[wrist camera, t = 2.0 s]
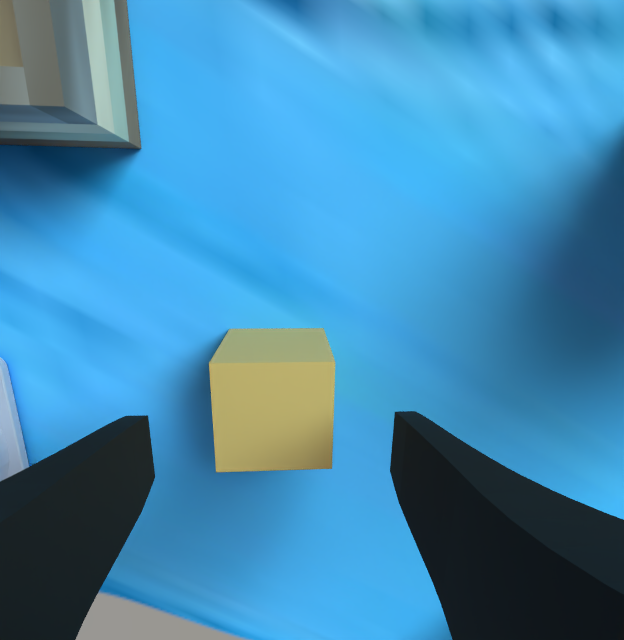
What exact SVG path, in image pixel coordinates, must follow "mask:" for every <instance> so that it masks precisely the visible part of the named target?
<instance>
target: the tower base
mask: <svg viewBox="0 0 624 640" xmlns="http://www.w3.org/2000/svg"><path fill="white" fill-rule="evenodd" d="M0 145H32V146H66V147H99V148H133V149H141V141H140V131H139V121H138V111H137V101H136V91H135V81H134V70H133V60H132V50H131V40H130V30H129V20H128V10H127V0H0Z"/></svg>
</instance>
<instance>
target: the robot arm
mask: <svg viewBox="0 0 624 640" xmlns="http://www.w3.org/2000/svg"><path fill="white" fill-rule="evenodd" d="M390 472H391V476H392V480H393V483H394V487H395V491H396V494H397V497H398V501H399V504H400V506H401V509H402V511H403V514H404V516H405V518H406V521H407V523H408V526H409V528H410V530H411V533H412V535H413V537H414V540H415V542H416V544H417V547H418V549H419V551H420V554H421V556H422V558H423V561H424V563H425V565H426V568H427V570H428V572H429V575H430V577H431V579H432V582H433V584H434V587H435V589H436V592H437V595H438V597H439V600H440V603H441V605H442V608H443V611H444V615H445V618H446V621H447V624H448V627H449V630H450V633H451V636H452V639H453V640H624V520H623V519H620V518H617V517H615V516H612V515H609V514H607V513H604V512H602V511H599V510H597V509H594V508H592V507H590V506H587V505H585V504H582V503H580V502H578V501H575V500H573V499H570V498H568V497H566V496H564V495H561V494H559V493H557V492H555V491H552V490H550V489H548V488H546V487H544V486H542V485H540V484H538V483H536V482H534V481H532V480H530V479H528V478H526V477H524V476H522V475H520V474H518V473H516V472H514V471H512V470H510V469H508V468H507V467H505V466H503V465H501V464H500V463H498V462H496V461H494V460H493V459H491V458H489V457H487V456H486V455H484V454H482V453H481V452H479V451H477V450H476V449H474V448H472V447H471V446H469V445H468V444H466V443H465V442H463V441H461V440H460V439H458V438H457V437H455V436H454V435H452V434H451V433H449V432H447V431H446V430H444V429H443V428H441V427H440V426H438V425H437V424H435V423H434V422H432V421H431V420H429V419H428V418H426V417H424V416H423V415H421V414H419V413H417V412H415V411H408V412H395V418H394V430H393V442H392V454H391V466H390ZM154 478H155V473H154V464H153V455H152V447H151V438H150V429H149V421H148V416H125V417H122V418H120V419H118V420H116V421H114V422H112V423H110V424H108V425H106V426H104V427H102V428H100V429H99V430H97V431H95V432H93V433H91V434H89V435H88V436H86V437H84V438H82V439H80V440H79V441H77V442H75V443H73V444H71V445H70V446H68V447H66V448H64V449H62V450H60V451H59V452H57V453H55V454H53V455H51V456H49V457H47V458H45V459H43V460H41V461H39V462H38V463H36V464H34V465H32V466H30V467H29V463H28V458H27V454H26V449H25V444H24V440H23V435H22V431H21V426H20V421H19V417H18V412H17V408H16V403H15V399H14V394H13V389H12V385H11V380H10V376H9V371H8V367H7V364H6V362H5V361H4V360H3V359H2V358H0V640H75V639H76V637H77V635H78V632H79V630H80V628H81V626H82V623H83V621H84V619H85V617H86V615H87V613H88V611H89V609H90V607H91V605H92V603H93V601H94V599H95V597H96V595H97V593H98V592H99V590H100V588H101V586H102V584H103V582H104V581H105V579H106V577H107V575H108V573H109V571H110V570H111V568H112V566H113V564H114V562H115V560H116V559H117V557H118V555H119V553H120V551H121V549H122V547H123V546H124V544H125V542H126V540H127V538H128V536H129V535H130V533H131V531H132V529H133V527H134V525H135V523H136V521H137V519H138V518H139V516H140V514H141V512H142V509H143V507H144V504H145V502H146V499H147V497H148V494H149V492H150V489H151V486H152V484H153V481H154Z"/></svg>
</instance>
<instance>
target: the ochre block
mask: <svg viewBox="0 0 624 640" xmlns="http://www.w3.org/2000/svg"><path fill="white" fill-rule="evenodd" d="M209 372H210V387H211V402H212V417H213V432H214V447H215V462H216V472H240V471H272V470H304V469H332V448H333V416H334V385H335V360H334V357H333V354H332V351H331V348H330V345H329V343H328V340H327V337H326V334H325V331H324V328H295V329H229V331H228V332H227V334H226V336H225V337H224V339H223V341H222V342H221V344H220V346H219V347H218V349H217V351H216V352H215V354H214V356H213V357H212V359H211V361H210V362H209Z"/></svg>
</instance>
